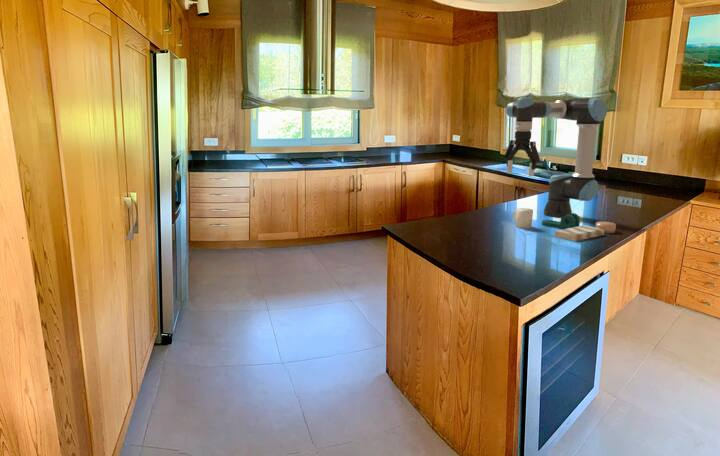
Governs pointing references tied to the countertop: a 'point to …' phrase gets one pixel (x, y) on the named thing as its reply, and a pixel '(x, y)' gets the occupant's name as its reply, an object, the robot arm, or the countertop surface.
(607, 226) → the peach flattened dome
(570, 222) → the bracket
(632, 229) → the countertop surface
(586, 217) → the countertop surface
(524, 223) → the mug
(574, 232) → the tray
